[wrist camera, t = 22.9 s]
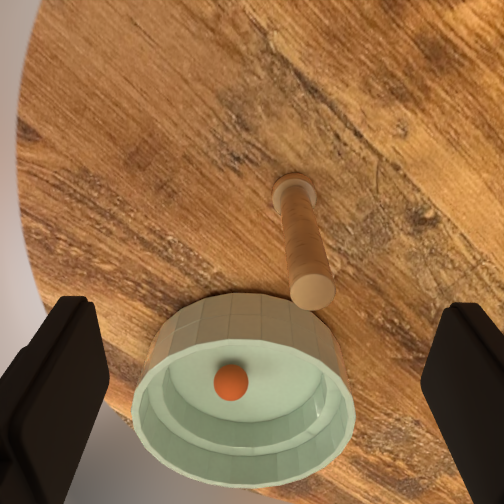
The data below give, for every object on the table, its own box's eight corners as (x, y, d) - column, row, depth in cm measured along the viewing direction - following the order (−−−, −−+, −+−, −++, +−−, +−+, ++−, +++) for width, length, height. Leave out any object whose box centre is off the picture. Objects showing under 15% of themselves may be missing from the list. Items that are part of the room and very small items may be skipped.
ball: (252, 361, 34) (237, 364, 37) (220, 364, 33) (207, 366, 35) (256, 398, 33) (240, 399, 36) (223, 403, 32) (209, 403, 34)
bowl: (159, 426, 41) (144, 485, 35) (139, 285, 32) (116, 336, 27) (329, 431, 41) (339, 491, 35) (354, 291, 32) (373, 343, 27)
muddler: (270, 211, 29) (276, 318, 18) (273, 171, 27) (281, 261, 17) (312, 214, 29) (341, 321, 18) (317, 173, 27) (353, 265, 17)
